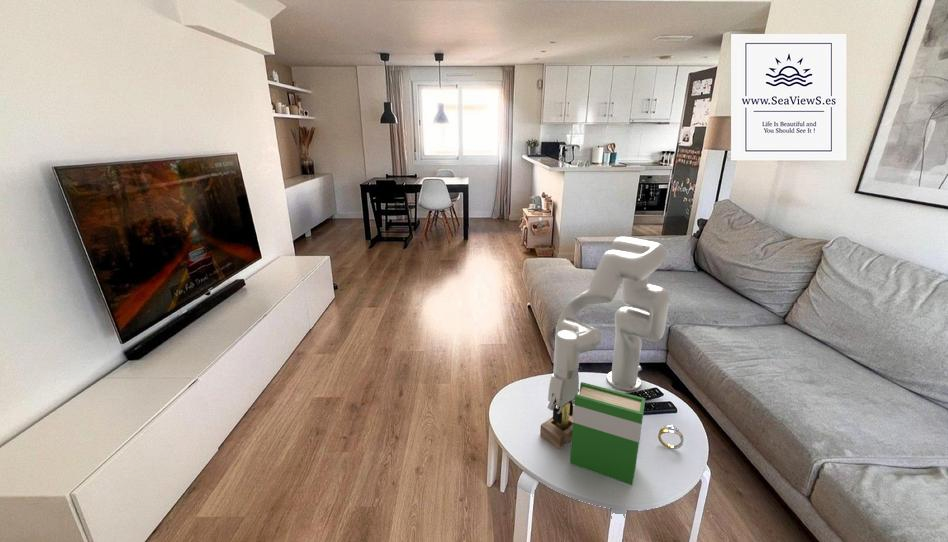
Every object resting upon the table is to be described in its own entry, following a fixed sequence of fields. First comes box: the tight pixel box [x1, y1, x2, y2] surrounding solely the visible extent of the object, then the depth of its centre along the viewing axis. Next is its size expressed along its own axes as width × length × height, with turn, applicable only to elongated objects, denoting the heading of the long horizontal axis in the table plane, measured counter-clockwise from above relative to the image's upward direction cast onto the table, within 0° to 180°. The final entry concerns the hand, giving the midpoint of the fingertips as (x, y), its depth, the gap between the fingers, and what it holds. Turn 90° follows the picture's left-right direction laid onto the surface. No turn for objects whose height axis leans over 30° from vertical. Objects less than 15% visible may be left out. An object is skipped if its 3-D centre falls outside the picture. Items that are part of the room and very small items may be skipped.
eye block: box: [539, 405, 574, 450], centre depth 132 cm, size 16×8×4 cm, turn 130°
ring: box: [657, 424, 685, 450], centre depth 123 cm, size 7×3×8 cm, turn 57°
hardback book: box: [569, 381, 646, 486], centre depth 114 cm, size 18×7×24 cm, turn 63°
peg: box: [556, 402, 570, 431], centre depth 129 cm, size 4×4×12 cm
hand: (562, 417), depth 129 cm, fingers open, 4 cm apart
